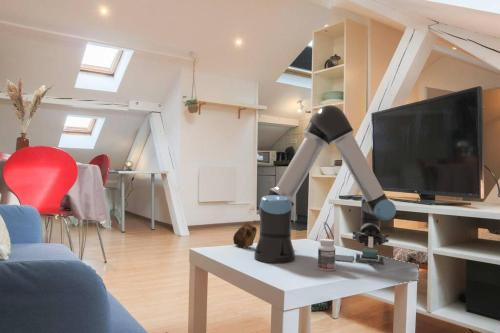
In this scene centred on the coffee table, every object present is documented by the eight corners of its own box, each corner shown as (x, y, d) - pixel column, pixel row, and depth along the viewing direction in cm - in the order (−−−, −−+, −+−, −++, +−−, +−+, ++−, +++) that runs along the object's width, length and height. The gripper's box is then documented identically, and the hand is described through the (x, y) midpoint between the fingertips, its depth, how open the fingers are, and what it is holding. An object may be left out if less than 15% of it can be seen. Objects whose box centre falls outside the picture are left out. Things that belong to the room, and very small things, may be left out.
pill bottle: (319, 266, 131) (320, 237, 131) (336, 268, 128) (337, 239, 129) (316, 269, 125) (316, 240, 126) (333, 272, 123) (333, 241, 123)
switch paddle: (361, 258, 141) (360, 251, 131) (361, 254, 142) (361, 247, 131) (378, 259, 139) (379, 253, 129) (378, 256, 140) (379, 248, 130)
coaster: (325, 259, 142) (325, 258, 142) (327, 254, 151) (327, 253, 151) (352, 262, 139) (352, 261, 139) (353, 257, 148) (353, 256, 148)
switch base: (355, 262, 139) (355, 255, 139) (355, 259, 143) (355, 253, 143) (383, 264, 136) (384, 257, 136) (383, 262, 140) (383, 255, 140)
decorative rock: (257, 248, 160) (258, 223, 161) (245, 249, 157) (246, 224, 157) (241, 244, 170) (242, 220, 170) (230, 245, 166) (231, 220, 167)
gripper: (387, 245, 143) (391, 257, 120) (352, 242, 147) (349, 252, 124) (388, 225, 143) (392, 233, 120) (353, 223, 147) (350, 230, 124)
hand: (370, 243), depth 122 cm, fingers closed
